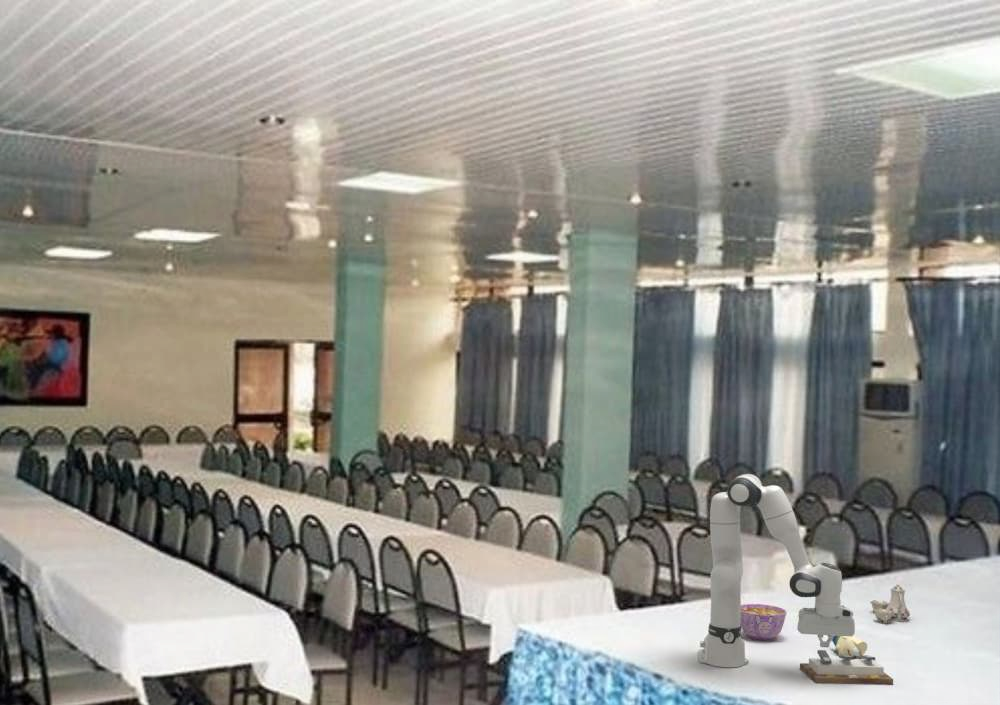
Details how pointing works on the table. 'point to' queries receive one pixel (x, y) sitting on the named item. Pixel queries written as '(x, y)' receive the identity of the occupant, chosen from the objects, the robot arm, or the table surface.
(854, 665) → the switch housing
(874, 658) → the block
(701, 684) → the table surface
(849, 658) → the rocker
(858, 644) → the cartoon head
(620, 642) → the table surface
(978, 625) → the table surface
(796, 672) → the table surface
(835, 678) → the chart board
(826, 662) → the block
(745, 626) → the bowl of food
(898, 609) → the chinaware
